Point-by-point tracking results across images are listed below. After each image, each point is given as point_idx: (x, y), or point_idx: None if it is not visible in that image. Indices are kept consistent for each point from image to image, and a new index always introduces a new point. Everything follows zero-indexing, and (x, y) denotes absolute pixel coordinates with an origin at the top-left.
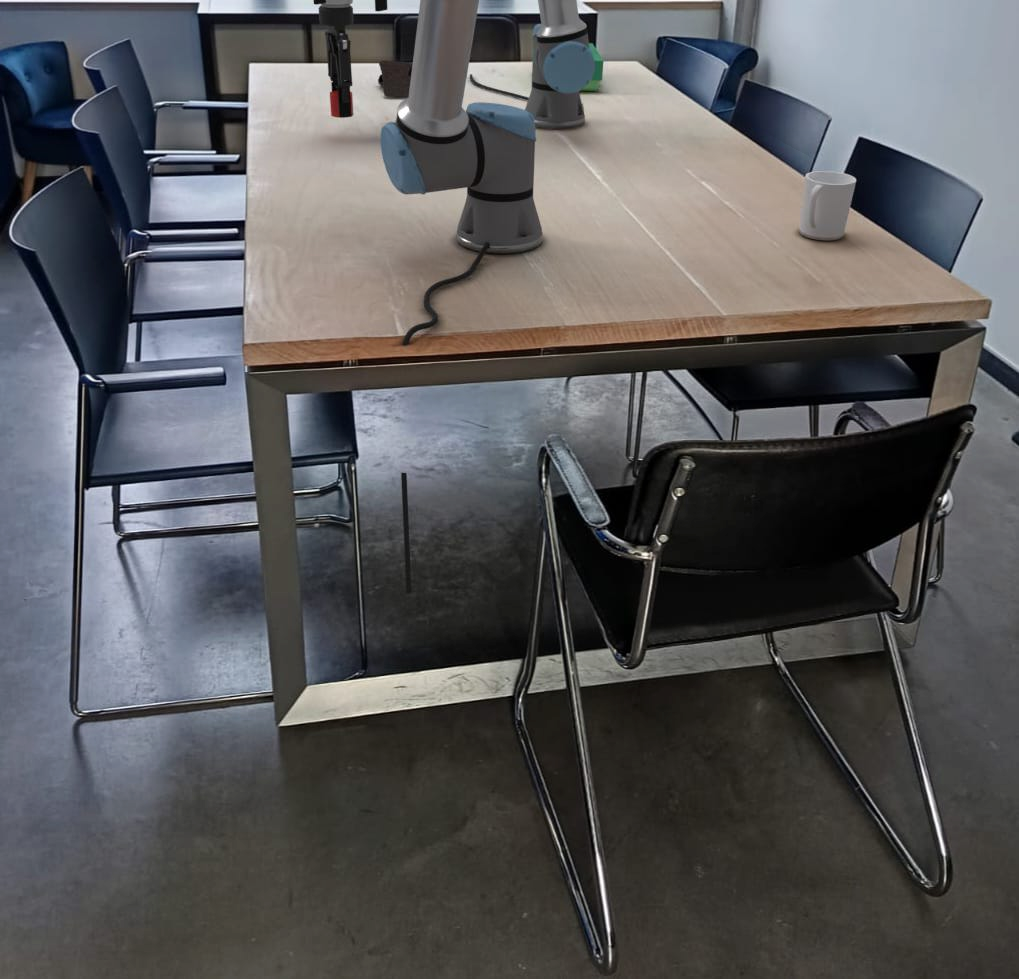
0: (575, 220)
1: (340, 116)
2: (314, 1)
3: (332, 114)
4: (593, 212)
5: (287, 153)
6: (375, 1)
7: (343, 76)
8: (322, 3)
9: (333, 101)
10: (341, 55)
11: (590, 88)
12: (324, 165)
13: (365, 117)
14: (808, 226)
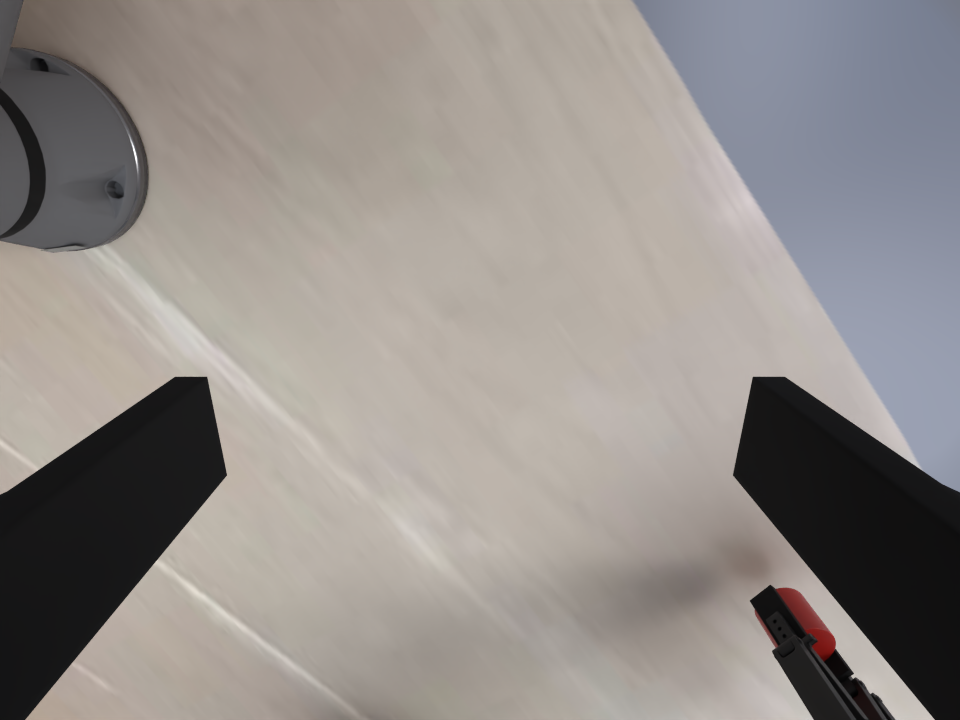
0: (43, 356)
1: (770, 587)
2: (786, 383)
3: (796, 592)
4: (55, 415)
5: None
6: (162, 406)
7: (802, 659)
8: (741, 438)
9: (808, 615)
10: (839, 711)
11: None
12: (688, 401)
13: (786, 692)
14: None
